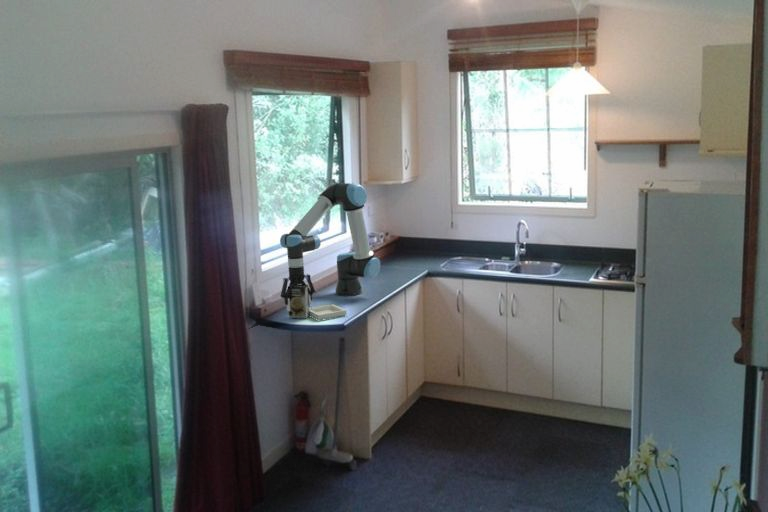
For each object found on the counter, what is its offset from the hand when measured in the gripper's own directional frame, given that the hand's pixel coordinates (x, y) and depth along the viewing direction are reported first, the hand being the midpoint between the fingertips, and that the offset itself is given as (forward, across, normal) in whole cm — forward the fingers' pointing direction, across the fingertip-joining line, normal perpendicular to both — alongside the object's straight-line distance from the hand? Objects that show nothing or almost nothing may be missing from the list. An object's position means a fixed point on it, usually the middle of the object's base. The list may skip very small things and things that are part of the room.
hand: (299, 308), depth 375 cm
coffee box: (+4, 0, 0) cm, 4 cm away
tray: (+5, -13, +4) cm, 14 cm away
